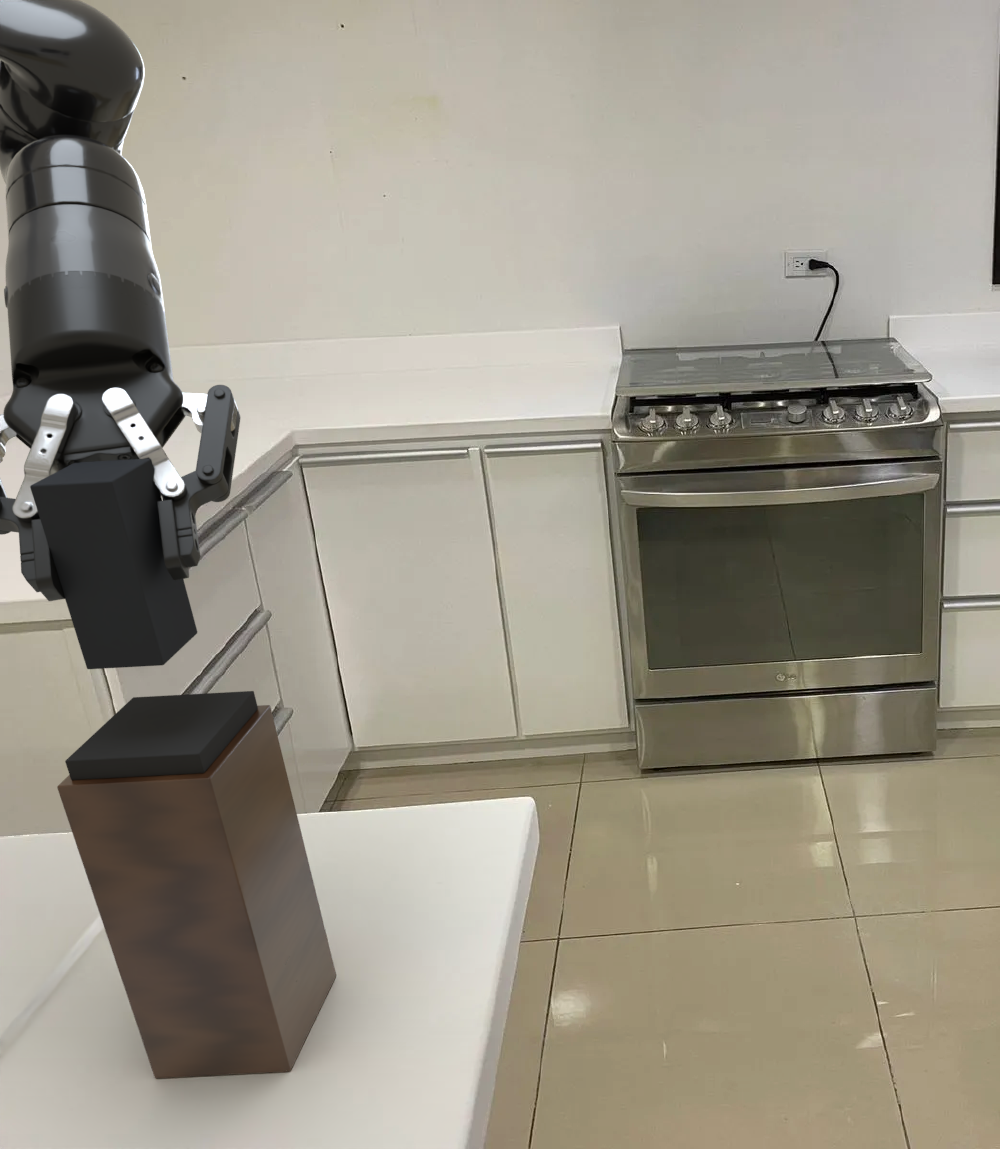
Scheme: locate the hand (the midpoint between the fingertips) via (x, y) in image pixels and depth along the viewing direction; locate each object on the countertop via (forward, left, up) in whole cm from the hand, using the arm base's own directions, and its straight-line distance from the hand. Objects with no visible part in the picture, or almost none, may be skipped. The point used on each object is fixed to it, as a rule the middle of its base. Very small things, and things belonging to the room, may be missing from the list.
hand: (114, 582), depth 56 cm
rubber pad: (-1, +2, -10) cm, 10 cm away
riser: (-1, +2, -30) cm, 30 cm away
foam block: (-1, +2, -5) cm, 5 cm away
